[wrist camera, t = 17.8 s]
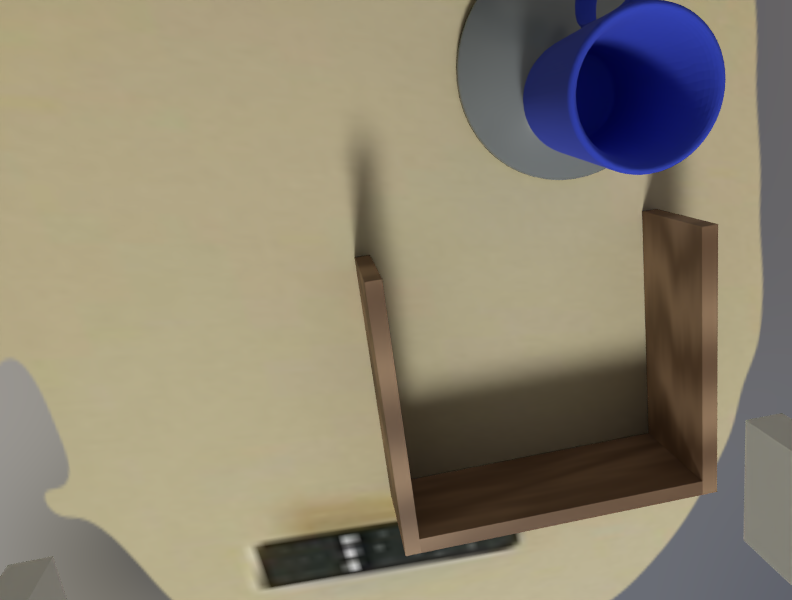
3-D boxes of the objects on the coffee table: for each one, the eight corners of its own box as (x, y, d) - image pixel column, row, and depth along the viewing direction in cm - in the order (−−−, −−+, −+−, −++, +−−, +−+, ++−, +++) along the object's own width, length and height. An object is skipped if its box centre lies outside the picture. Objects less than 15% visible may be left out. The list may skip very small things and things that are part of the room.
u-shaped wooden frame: (354, 257, 43) (364, 282, 36) (656, 208, 45) (717, 224, 38) (391, 495, 48) (405, 556, 41) (661, 442, 50) (716, 491, 43)
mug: (638, -41, 40) (744, -92, 31) (626, 160, 43) (718, 171, 34) (508, -41, 39) (576, -94, 29) (505, 165, 42) (565, 178, 33)
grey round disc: (444, -41, 39) (446, -43, 39) (665, -67, 40) (670, -69, 40) (468, 193, 43) (470, 194, 42) (669, 162, 44) (673, 163, 44)
